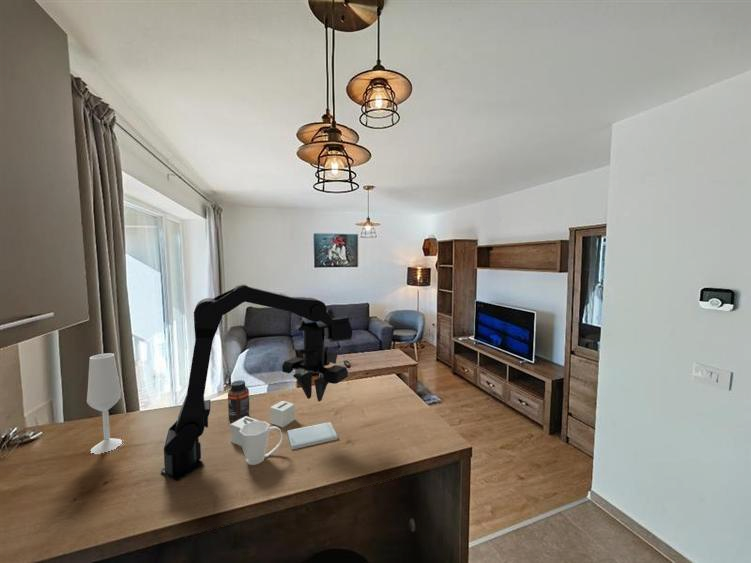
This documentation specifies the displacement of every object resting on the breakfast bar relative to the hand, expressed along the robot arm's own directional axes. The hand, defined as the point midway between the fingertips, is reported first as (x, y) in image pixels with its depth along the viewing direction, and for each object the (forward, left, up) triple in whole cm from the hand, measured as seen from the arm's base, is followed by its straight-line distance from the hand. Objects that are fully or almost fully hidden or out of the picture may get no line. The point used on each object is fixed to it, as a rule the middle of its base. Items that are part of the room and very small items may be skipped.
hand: (314, 399), depth 87 cm
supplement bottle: (-4, +26, -10) cm, 28 cm away
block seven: (-11, +15, -10) cm, 21 cm away
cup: (-14, +5, -10) cm, 18 cm away
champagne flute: (-30, +44, -10) cm, 54 cm away
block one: (+1, +13, -10) cm, 16 cm away
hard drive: (-1, 0, -11) cm, 11 cm away
